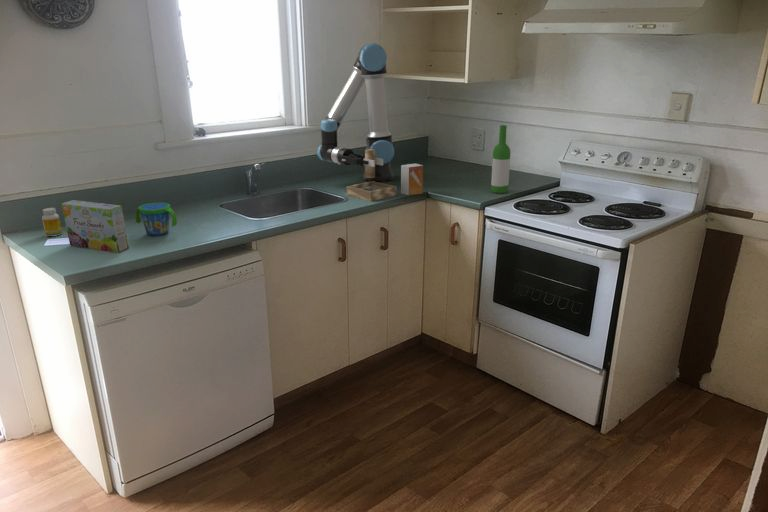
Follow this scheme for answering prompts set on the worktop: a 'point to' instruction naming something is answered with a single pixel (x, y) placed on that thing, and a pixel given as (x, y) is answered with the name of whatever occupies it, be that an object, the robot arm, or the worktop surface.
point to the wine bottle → (500, 164)
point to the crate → (371, 191)
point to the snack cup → (155, 217)
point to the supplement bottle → (51, 222)
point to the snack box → (95, 225)
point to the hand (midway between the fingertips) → (378, 162)
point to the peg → (369, 169)
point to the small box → (411, 179)
